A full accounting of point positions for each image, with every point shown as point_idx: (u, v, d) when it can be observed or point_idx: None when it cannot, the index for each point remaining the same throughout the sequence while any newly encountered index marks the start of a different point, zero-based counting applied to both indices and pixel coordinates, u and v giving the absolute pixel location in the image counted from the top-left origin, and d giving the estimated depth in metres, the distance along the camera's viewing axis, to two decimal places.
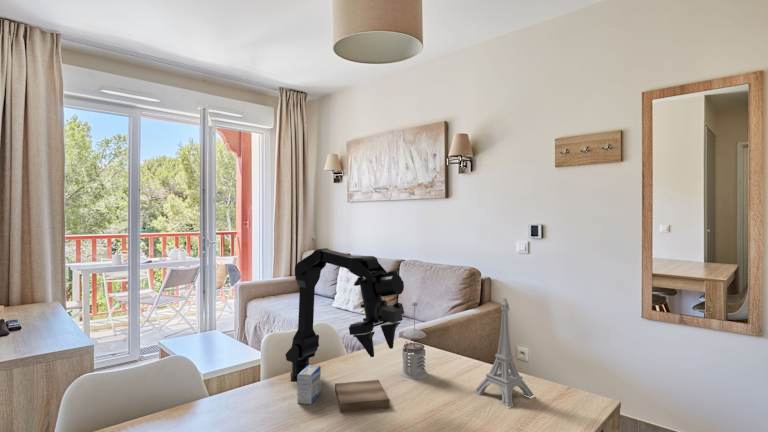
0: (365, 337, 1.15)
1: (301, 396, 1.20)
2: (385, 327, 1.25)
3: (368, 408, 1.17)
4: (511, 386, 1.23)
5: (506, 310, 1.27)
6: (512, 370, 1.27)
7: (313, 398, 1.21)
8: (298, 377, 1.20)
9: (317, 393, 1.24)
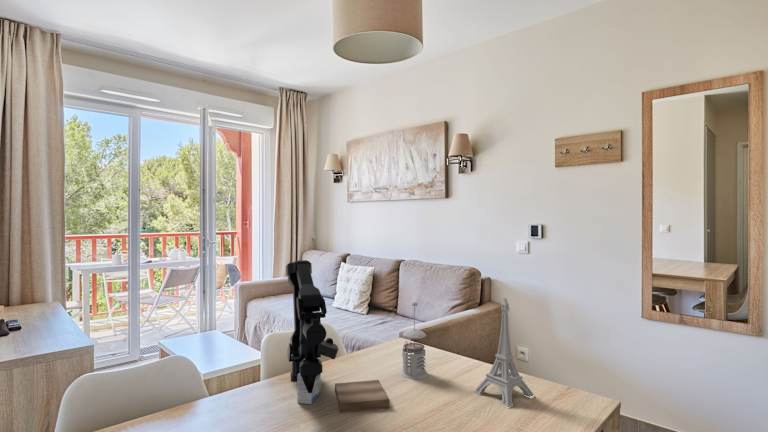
0: (309, 374, 1.18)
1: (301, 396, 1.20)
2: None
3: (368, 408, 1.17)
4: (511, 386, 1.23)
5: (506, 310, 1.27)
6: (512, 370, 1.27)
7: (313, 398, 1.21)
8: (298, 377, 1.20)
9: (317, 393, 1.24)
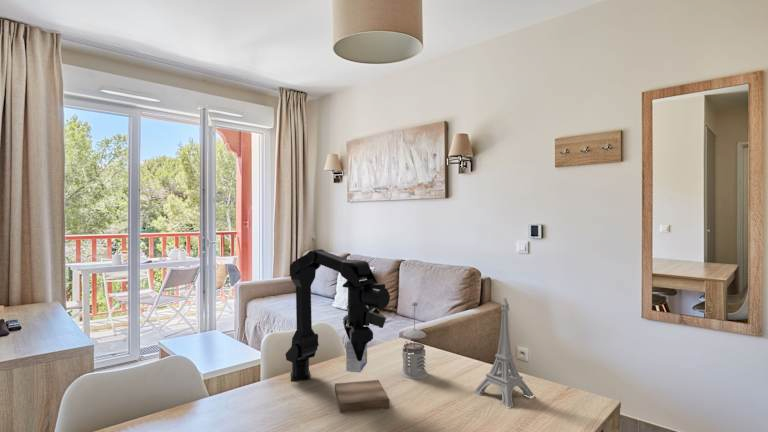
0: (359, 342, 1.17)
1: (350, 364, 1.19)
2: (351, 330, 1.28)
3: (368, 408, 1.17)
4: (511, 386, 1.23)
5: (506, 310, 1.27)
6: (512, 370, 1.27)
7: (362, 366, 1.21)
8: (347, 345, 1.20)
9: (364, 362, 1.24)
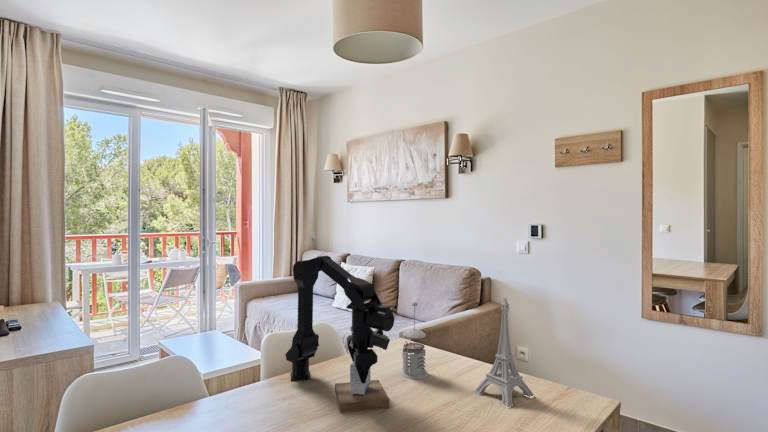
0: (363, 365, 1.18)
1: (354, 386, 1.20)
2: (354, 350, 1.28)
3: (368, 408, 1.17)
4: (511, 386, 1.23)
5: (506, 310, 1.27)
6: (512, 370, 1.27)
7: (365, 388, 1.21)
8: (351, 367, 1.20)
9: (368, 383, 1.24)
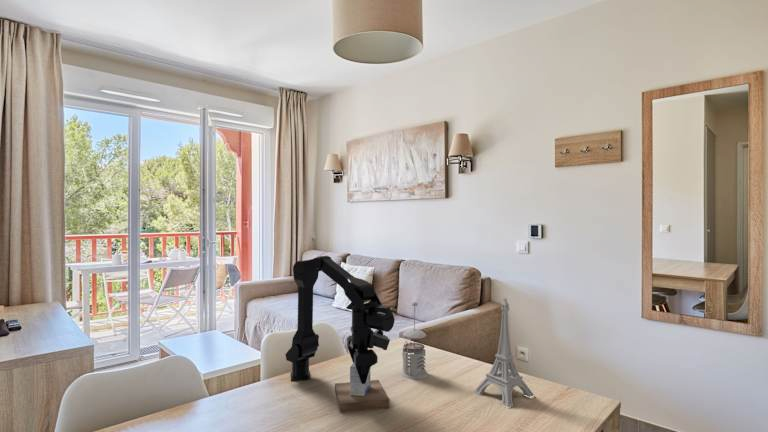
0: (363, 365, 1.18)
1: (354, 388, 1.20)
2: (354, 351, 1.28)
3: (368, 408, 1.17)
4: (511, 386, 1.23)
5: (506, 310, 1.27)
6: (512, 370, 1.27)
7: (365, 390, 1.21)
8: (351, 369, 1.20)
9: (368, 385, 1.24)
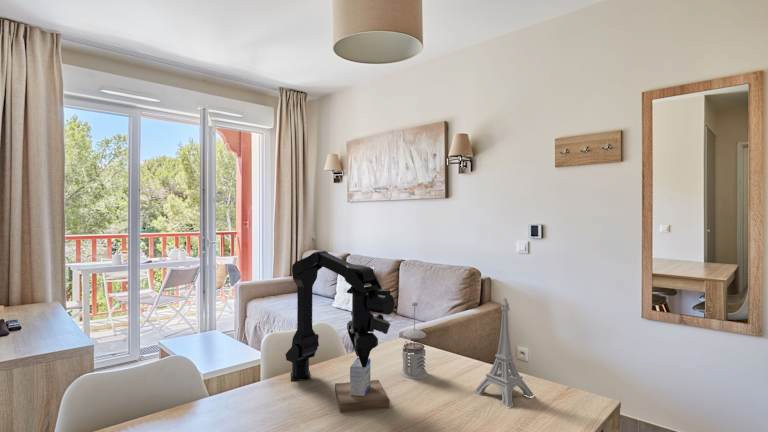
0: (364, 348, 1.18)
1: (354, 388, 1.20)
2: (355, 335, 1.28)
3: (368, 408, 1.17)
4: (511, 386, 1.23)
5: (506, 310, 1.27)
6: (512, 370, 1.27)
7: (365, 390, 1.21)
8: (351, 369, 1.20)
9: (368, 385, 1.24)
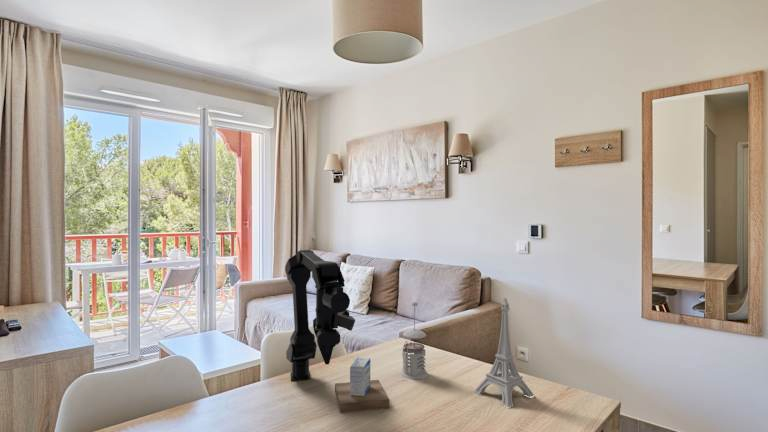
0: (326, 345, 1.15)
1: (354, 388, 1.20)
2: None
3: (368, 408, 1.17)
4: (511, 386, 1.23)
5: (506, 310, 1.27)
6: (512, 370, 1.27)
7: (365, 390, 1.21)
8: (351, 369, 1.20)
9: (368, 385, 1.24)
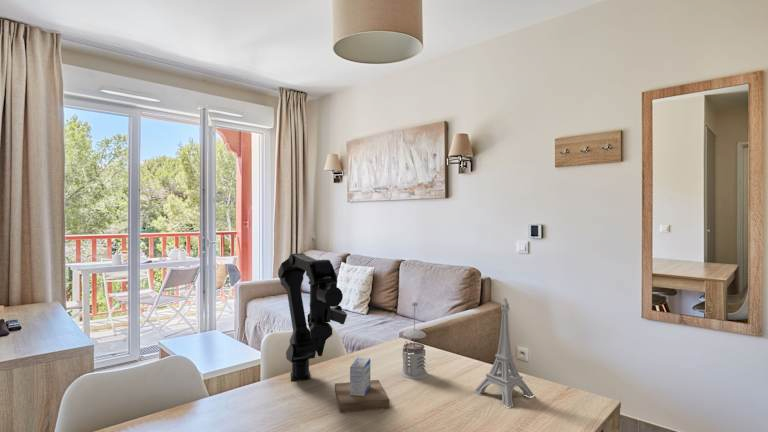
0: (319, 338, 1.22)
1: (354, 388, 1.20)
2: None
3: (368, 408, 1.17)
4: (511, 386, 1.23)
5: (506, 310, 1.27)
6: (512, 370, 1.27)
7: (365, 390, 1.21)
8: (351, 369, 1.20)
9: (368, 385, 1.24)
